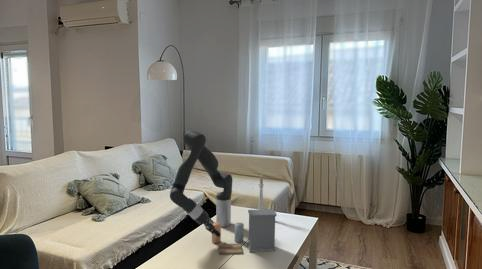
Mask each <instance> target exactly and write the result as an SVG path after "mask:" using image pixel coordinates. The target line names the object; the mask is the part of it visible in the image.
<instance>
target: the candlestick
mask: <svg viewBox="0 0 482 269" xmlns="http://www.w3.org/2000/svg"><path fill="white" fill-rule="evenodd" d="M264 185H265V184H264V175H263V174H260V175H259V184H258V187H259V194H258V195H259V196H258V197H259V198H258V208H257V210H263V209H264V194H263V193H264V192H263V189H264Z"/></svg>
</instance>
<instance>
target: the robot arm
mask: <svg viewBox="0 0 482 269" xmlns="http://www.w3.org/2000/svg"><path fill="white" fill-rule="evenodd" d="M183 142H184V145H185V146H186V147H187V148H188V149H190V153H189V156H188V157H187V158H186V159H185V161H183V162H182V163H181V164H180V166H179V168H177V172H176V174H175V175H176V176H175V179H174V182H173V184H172V187H171V190H170V192H169V198H170V201H172V203H173V204H175V205H176V206H178V207H179V208H181V209H182V210H184V212H186V213H187V215H188V216H190V218H191V219H192V220H193V221H195V223H197V224H198V225H203V226H204V227H205V229H206V231H208V232H209V233H211V235H212V234H213V233H214V234H215V235H216V236H218V237H220V236H222V233H219V232H218V231H217V230H216V229H215V228H214V225H213V224H212V223H214V220H213V219H212V218H211V217H210V216H209V213H208V212H207V211H205V209H203V207H202V206H200V205H199V204H197V203H196V202H195V201H194V200H193V199H192V198H191V197H187V196H186V194H185V193H184V192H185V188H186V186H187V184H188V182H189V180H190V176H191V174H192V171H193V168H194V167H195V164H196V162H197V161H199V163H200V165H201V166H202V167H203V169H204V170H205V171H206V173H207V175H208V176H209V177H210V179H211V182H212V183H213V185H214V186H215V187H217V188H221V189H223V190H222V191H220V192H218V193H216V196H215V198H216V202H215V203H216V204H215V208H216V214H215V215H216V217H215V219H216V220H215V222H219V223H221V228H227V227H230V226H231V225H232V219H231V218H232V214H231V213H232V193H233V175H231V174H230V173H223V172H220V171H219V170H218V168H219V161H218V159H217V157H216V156H215V154H214V153H213V152H212V151H211V150H210V149H209V148H207V147H206V146H205V145H206V142H207V139H206V136H205V135H204V134H203V133H201V132H199V131H196V130H194V129H190V130H187V131H186V132H184V134H183ZM212 230H213V231H212Z"/></svg>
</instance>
